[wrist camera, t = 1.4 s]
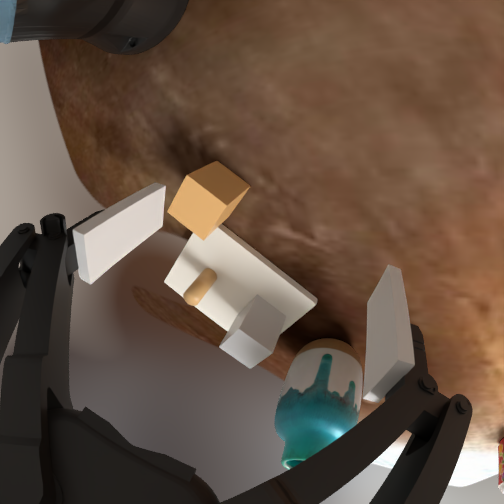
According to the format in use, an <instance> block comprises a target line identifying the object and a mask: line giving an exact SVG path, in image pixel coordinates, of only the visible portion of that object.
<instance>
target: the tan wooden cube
mask: <svg viewBox="0 0 504 504" xmlns="http://www.w3.org/2000/svg"><path fill="white" fill-rule="evenodd" d="M249 188H250V185H249V184H247V183H246V182H245V181H244V180H242V179H241V178H240V177H238V176H237V175H236V174H234V173H233V172H232V171H230V170H229V169H228V168H226V167H225V166H224V165H222V164H221V163H220V162H218V161H215V162H213V163H211V164H209V165H206V166H204V167H202V168H200V169H198V170H196V171H194V172H192V173H190V174H188V175H187V176H186V178H185V179H184V181H183V183H182V185H181V187H180V189H179V190H178V192H177V194H176V196H175V198H174V200H173V202H172V204H171V206H170V208H169V210H168V211H167V212H168V213H169V214H171V215H172V216H173V217H174V218H176V219H177V220H178V221H179V222H181V223H182V224H183V225H184V226H186V227H187V228H188V229H189V230H191V231H192V232H193V233H194V234H196V235H197V236H198V237H199V238H201V239H202V240H203V241H204V240H205V239H206V238H207V237H208V236H209V235H210V234H211V233H212V232H213V231H214V230H215V229H216V228H217V227H218V226H219V225H220V224H222V223H223V222H224V221H225V220H226V219H227V218H228V217H229V216H230V214H231V213H232V211H233V210H234V209H235V207H236V206H237V204H238V203H239V202H240V200H241V199H242V197H243V196H244V194H245V193H246V192H247V190H248V189H249Z"/></svg>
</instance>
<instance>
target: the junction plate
mask: <svg viewBox="0 0 504 504" xmlns="http://www.w3.org/2000/svg"><path fill="white" fill-rule="evenodd" d="M164 282H165V283H166V284H167V285H168V286H170V287H171V288H172V289H173V290H175V291H176V292H177V293H178V294H180V295H181V296H182V297H183V298H184V300H185V301H186V302H187V303H188V304H190V305H192V306H195V307H196V308H197V309H199V310H200V311H201V312H203V313H204V314H205V315H207V316H208V317H209V318H210V319H212V320H213V321H214V322H216V323H217V324H218V325H220V326H221V327H222V328H224V329H225V330H227V331H228V332H227V334H226V336H225V337H224V339H223V341H222V343H221V344H220V346H219V347H220V348H221V349H223V350H224V351H225V352H227V353H228V354H230V355H231V356H233V357H234V358H236V359H237V360H238V361H240V362H241V363H243V364H244V365H245V366H247V367H248V368H250V369H251V368H252V367H253V366H255V365H256V364H258V363H259V362H261V361H262V360H264V359H265V358H266V357H268V356H269V355H271V354H272V353H273V351H274V348H275V346H276V343H277V340H278V338H279V335H280V334H281V333H282V332H284V331H285V330H286V329H287V328H289V327H290V326H291V325H292V324H293V323H295V322H296V321H297V320H298V319H300V318H301V317H302V316H303V315H305V314H306V313H307V312H308V311H309V310H311V309H312V308H313V307H314V306H315V305H316V304H317V300H318V299H317V298H316V297H315V296H313V295H312V294H311V293H310V292H308V291H307V290H306V289H304V288H303V287H302V286H301V285H299V284H298V283H297V282H296V281H294V280H293V279H292V278H290V277H289V276H288V275H287V274H285V273H284V272H283V271H282V270H280V269H279V268H278V267H276V266H275V265H274V264H273V263H271V262H270V261H269V260H268V259H266V258H265V257H264V256H262V255H261V254H260V253H259V252H257V251H256V250H255V249H253V248H252V247H251V246H250V245H248V244H247V243H246V242H245V241H243V240H242V239H241V238H239V237H238V236H237V235H236V234H234V233H233V232H232V231H230V230H229V229H228V228H227V227H225V226H224V225H223V224H220V225H219V226H218V227H217V228H216V229H215V230H214V231H213V232H212V233H211V234H210V235H209V236H208V237H207V238H206V239H205V240H204V241H203V240H202V239H201V238H199V237H198V236H197V235H196V234H194V233H193V234H192V235H191V237H190V239H189V240H188V242H187V244H186V245H185V247H184V249H183V251H182V252H181V254H180V255H179V257H178V259H177V261H176V262H175V264H174V266H173V267H172V269H171V271H170V272H169V274H168V276H167V278H166V279H165V281H164Z"/></svg>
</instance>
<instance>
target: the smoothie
mask: <svg viewBox="0 0 504 504" xmlns="http://www.w3.org/2000/svg"><path fill="white" fill-rule="evenodd" d="M498 453H499V486H498V488H499V489H500V491H501V492H502V493H503V494H504V438H503V439H502V440H501V441H500V445H499V446H498Z"/></svg>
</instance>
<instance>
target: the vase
mask: <svg viewBox="0 0 504 504" xmlns="http://www.w3.org/2000/svg"><path fill="white" fill-rule="evenodd" d="M361 396H362V366H361V361H360V358H359V356H358V354H357V353H356V351H355V350H354V349H353V348H352V347H351V346H350V345H348V344H347V343H345V342H343V341H341V340H337V339H332V338H323V339H318V340H315V341H312V342H310V343H308V344H307V345H305V346H304V347H303V348H302V349H301V350H300V351H299V352H298V353H297V355H296V356H295V358H294V360H293V362H292V364H291V366H290V369H289V371H288V374H287V376H286V379H285V382H284V385H283V388H282V391H281V394H280V398H279V401H278V405H277V409H276V415H275V429H276V432H277V434H278V435H279V437H280V438H281V439H282V440H283V441H285V447H284V452H283V456H282V460H281V463H282V465H283V466H284V467H285V468H287V469H288V470H289V469H291V468H293V467H294V466H296V465H298V464H299V463H301V462H303V461H304V460H306V459H308V458H309V457H311V456H312V455H314V454H315V453H317V452H319V451H320V450H322V449H323V448H325V447H326V446H328V445H329V444H330V443H332V442H333V441H335V440H336V439H338V438H339V437H340V436H342V435H343V434H345V433H346V432H347V431H349V430H350V429H351V428H353V427H354V426H355V425H357V421H358V417H359V411H360V404H361Z"/></svg>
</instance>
